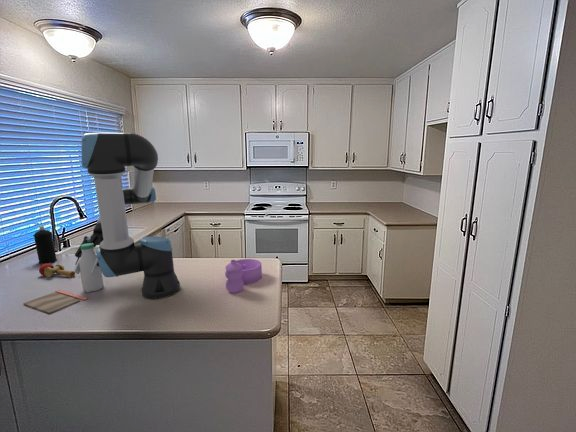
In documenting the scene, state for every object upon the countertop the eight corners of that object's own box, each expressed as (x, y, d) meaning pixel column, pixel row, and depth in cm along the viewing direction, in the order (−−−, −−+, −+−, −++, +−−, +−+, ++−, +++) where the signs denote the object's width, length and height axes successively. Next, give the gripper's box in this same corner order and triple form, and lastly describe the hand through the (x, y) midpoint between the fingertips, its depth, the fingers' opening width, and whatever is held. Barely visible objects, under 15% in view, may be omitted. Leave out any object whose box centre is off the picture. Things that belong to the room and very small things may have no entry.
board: (80, 301, 126) (79, 299, 126) (49, 314, 116) (49, 312, 116) (54, 293, 134) (54, 292, 134) (23, 304, 124) (23, 303, 124)
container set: (235, 270, 154) (233, 244, 152) (265, 272, 151) (264, 245, 149) (214, 293, 130) (212, 263, 127) (249, 295, 127) (248, 264, 125)
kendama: (81, 276, 156) (50, 269, 159) (78, 265, 154) (47, 258, 157) (67, 285, 149) (36, 277, 152) (64, 273, 147) (32, 266, 150)
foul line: (87, 299, 128) (87, 298, 127) (84, 300, 126) (84, 299, 126) (59, 290, 136) (59, 289, 136) (55, 291, 135) (55, 291, 135)
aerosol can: (49, 264, 170) (43, 228, 166) (34, 264, 170) (27, 228, 166) (60, 259, 178) (54, 224, 174) (46, 259, 178) (39, 224, 174)
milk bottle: (107, 286, 139) (100, 243, 135) (88, 293, 132) (81, 248, 128) (98, 283, 143) (91, 240, 139) (79, 289, 137) (72, 245, 132)
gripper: (130, 230, 147) (112, 276, 135) (89, 230, 149) (68, 275, 137) (121, 222, 141) (101, 269, 128) (79, 222, 143) (56, 268, 131)
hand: (84, 272), depth 133 cm, fingers closed on milk bottle, 7 cm apart
